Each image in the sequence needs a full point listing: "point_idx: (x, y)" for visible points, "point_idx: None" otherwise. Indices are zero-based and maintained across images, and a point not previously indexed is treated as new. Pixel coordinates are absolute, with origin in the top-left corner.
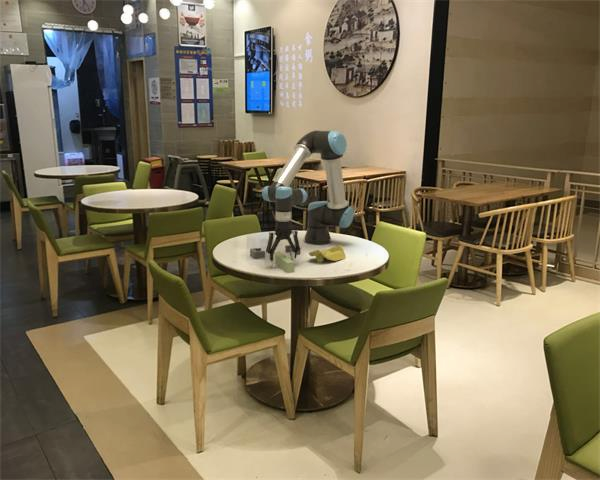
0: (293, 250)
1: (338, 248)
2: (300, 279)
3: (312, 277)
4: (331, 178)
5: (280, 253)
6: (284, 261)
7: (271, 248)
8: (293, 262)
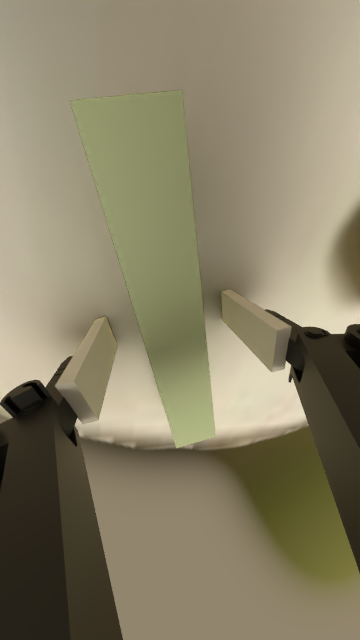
0: (298, 356)
1: None
2: (196, 448)
3: (237, 432)
4: None
5: (180, 217)
6: (167, 418)
7: (14, 466)
8: (209, 436)
